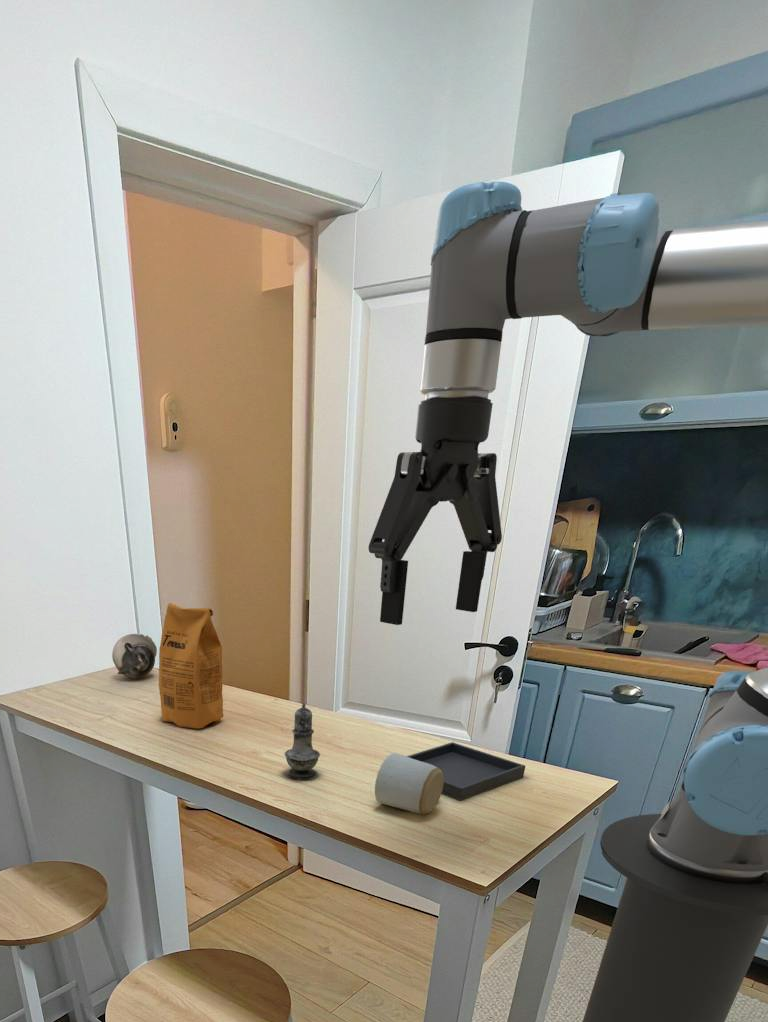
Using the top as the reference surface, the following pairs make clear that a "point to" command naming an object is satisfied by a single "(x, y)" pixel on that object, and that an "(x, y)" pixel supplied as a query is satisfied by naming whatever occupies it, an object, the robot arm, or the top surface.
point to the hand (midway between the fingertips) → (430, 616)
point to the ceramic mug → (408, 784)
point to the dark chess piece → (302, 748)
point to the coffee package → (190, 668)
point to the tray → (469, 769)
